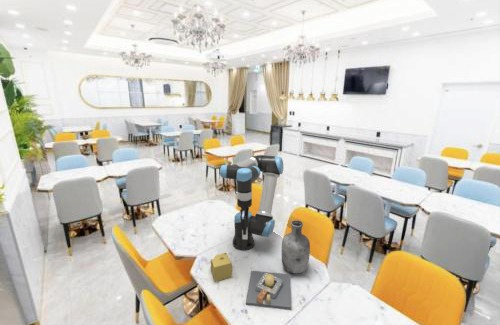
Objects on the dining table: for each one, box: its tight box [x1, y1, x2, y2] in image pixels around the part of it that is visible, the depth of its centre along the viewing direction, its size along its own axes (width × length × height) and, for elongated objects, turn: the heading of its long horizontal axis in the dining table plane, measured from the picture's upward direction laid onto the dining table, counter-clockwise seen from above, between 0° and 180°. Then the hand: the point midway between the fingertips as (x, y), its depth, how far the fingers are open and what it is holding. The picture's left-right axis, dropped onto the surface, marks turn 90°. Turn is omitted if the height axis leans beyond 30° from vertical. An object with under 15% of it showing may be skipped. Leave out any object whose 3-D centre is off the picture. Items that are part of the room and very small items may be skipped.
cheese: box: [210, 252, 233, 282], centre depth 133 cm, size 10×11×10 cm
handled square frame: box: [255, 273, 283, 304], centre depth 120 cm, size 17×11×2 cm, turn 150°
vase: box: [281, 219, 311, 274], centre depth 134 cm, size 16×16×30 cm
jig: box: [245, 270, 292, 311], centre depth 122 cm, size 22×22×8 cm
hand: (245, 238), depth 126 cm, fingers closed
